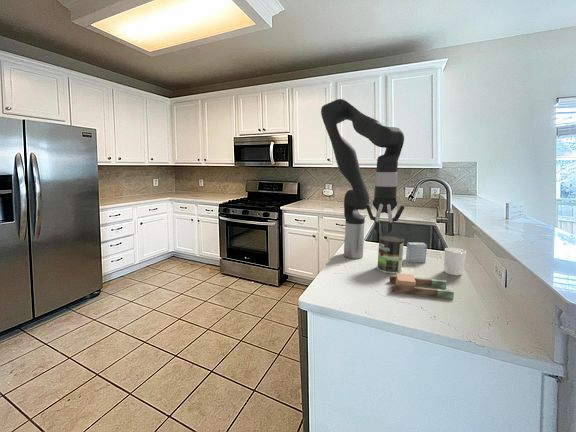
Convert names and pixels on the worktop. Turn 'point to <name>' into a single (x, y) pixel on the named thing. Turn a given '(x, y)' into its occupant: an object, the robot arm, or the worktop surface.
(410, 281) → the terracotta block
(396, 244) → the coffee can
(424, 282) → the walnut chute
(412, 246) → the medicine box
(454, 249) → the white cup
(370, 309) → the worktop surface
